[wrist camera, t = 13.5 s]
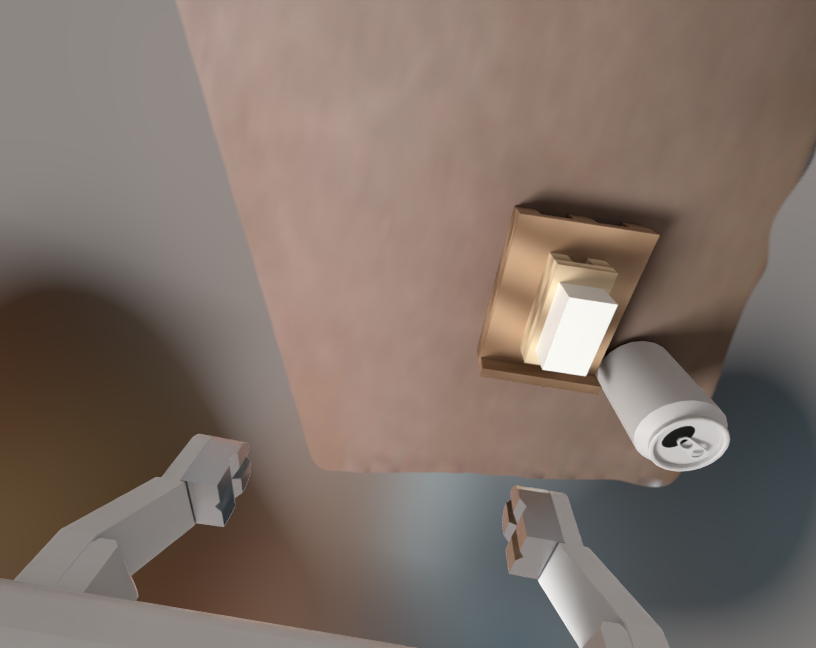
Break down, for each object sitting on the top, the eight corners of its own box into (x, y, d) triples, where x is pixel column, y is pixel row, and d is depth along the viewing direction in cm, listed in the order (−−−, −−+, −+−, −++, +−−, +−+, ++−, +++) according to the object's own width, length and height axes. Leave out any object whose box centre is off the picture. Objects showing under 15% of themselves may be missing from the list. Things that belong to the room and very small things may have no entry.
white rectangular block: (559, 282, 32) (569, 297, 30) (604, 288, 32) (617, 304, 30) (535, 350, 36) (542, 369, 33) (575, 357, 36) (585, 376, 33)
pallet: (549, 252, 34) (557, 264, 32) (605, 260, 34) (618, 273, 32) (519, 345, 39) (524, 362, 37) (567, 353, 39) (576, 370, 37)
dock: (514, 206, 36) (524, 219, 31) (644, 225, 35) (671, 242, 31) (477, 349, 43) (480, 376, 39) (582, 365, 43) (597, 394, 39)
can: (635, 324, 40) (701, 399, 30) (682, 360, 42) (761, 444, 31) (580, 369, 44) (622, 452, 33) (626, 402, 45) (680, 490, 35)
